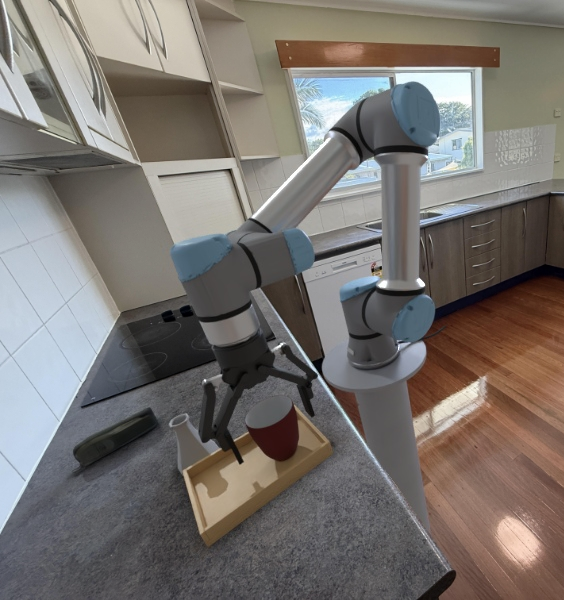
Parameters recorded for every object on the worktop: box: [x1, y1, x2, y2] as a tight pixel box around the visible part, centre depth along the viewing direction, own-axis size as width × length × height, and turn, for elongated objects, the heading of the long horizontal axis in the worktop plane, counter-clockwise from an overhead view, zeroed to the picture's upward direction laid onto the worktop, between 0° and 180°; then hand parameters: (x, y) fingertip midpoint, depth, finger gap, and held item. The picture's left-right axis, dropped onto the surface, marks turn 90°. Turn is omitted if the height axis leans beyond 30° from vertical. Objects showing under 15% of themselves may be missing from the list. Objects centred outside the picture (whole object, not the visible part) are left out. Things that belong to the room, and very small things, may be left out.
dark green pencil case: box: [71, 407, 159, 474], centre depth 66 cm, size 5×3×15 cm
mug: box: [244, 394, 299, 461], centre depth 57 cm, size 11×8×10 cm
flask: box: [168, 412, 221, 477], centre depth 59 cm, size 7×7×10 cm
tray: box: [182, 404, 334, 548], centre depth 56 cm, size 21×15×3 cm
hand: (277, 434), depth 58 cm, fingers open, 13 cm apart
